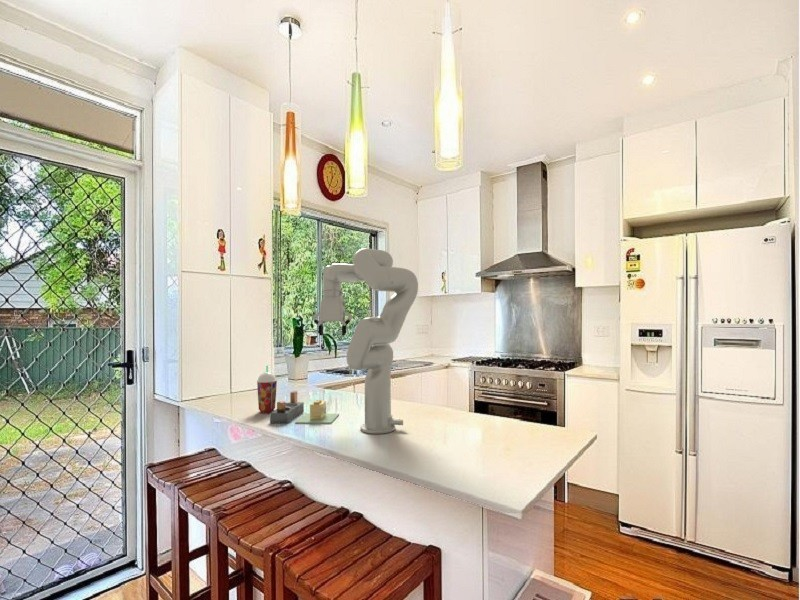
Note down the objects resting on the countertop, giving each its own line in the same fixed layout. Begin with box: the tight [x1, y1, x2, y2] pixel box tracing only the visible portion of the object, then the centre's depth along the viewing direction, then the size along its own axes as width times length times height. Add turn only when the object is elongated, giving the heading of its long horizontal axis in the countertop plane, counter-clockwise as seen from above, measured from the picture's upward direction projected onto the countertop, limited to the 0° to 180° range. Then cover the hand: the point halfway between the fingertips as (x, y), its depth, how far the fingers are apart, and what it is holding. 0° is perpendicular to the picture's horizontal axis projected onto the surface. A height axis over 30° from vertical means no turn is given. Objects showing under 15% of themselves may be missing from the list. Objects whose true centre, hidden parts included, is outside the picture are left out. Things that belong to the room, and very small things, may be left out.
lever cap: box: [309, 399, 327, 420], centre depth 163 cm, size 4×7×7 cm, turn 176°
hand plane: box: [269, 390, 305, 425], centre depth 167 cm, size 7×20×9 cm, turn 176°
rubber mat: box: [295, 413, 340, 425], centre depth 163 cm, size 14×14×1 cm
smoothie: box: [256, 365, 278, 414], centre depth 177 cm, size 8×8×20 cm
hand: (332, 335), depth 172 cm, fingers open, 9 cm apart
